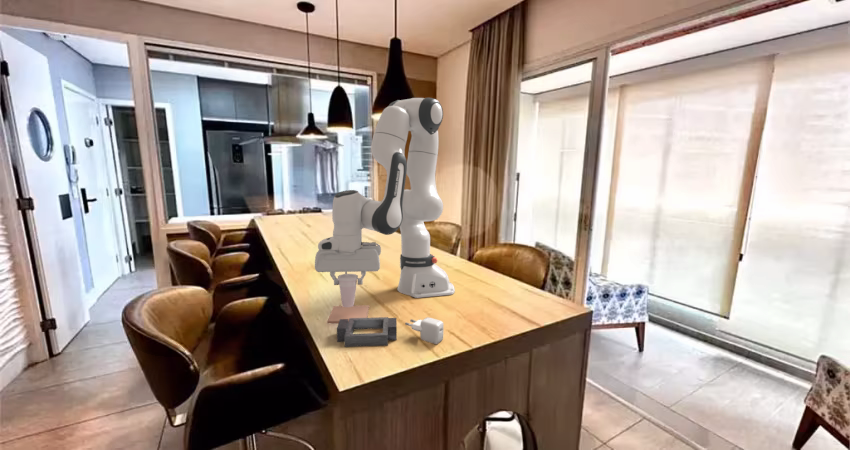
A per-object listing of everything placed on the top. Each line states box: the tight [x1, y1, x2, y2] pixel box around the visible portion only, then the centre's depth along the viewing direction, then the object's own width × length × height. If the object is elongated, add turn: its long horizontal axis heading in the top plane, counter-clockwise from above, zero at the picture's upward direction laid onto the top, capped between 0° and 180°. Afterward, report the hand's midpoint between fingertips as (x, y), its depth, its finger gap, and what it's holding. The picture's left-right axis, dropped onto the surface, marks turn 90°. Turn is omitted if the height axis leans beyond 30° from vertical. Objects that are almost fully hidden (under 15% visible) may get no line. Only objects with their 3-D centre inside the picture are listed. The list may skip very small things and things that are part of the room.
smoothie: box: [337, 272, 359, 307], centre depth 115 cm, size 6×6×14 cm
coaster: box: [326, 304, 370, 325], centre depth 117 cm, size 12×12×1 cm
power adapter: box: [404, 316, 444, 345], centre depth 102 cm, size 11×5×6 cm, turn 57°
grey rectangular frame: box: [336, 316, 398, 348], centre depth 103 cm, size 16×12×4 cm
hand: (348, 284), depth 115 cm, fingers closed on smoothie, 6 cm apart
